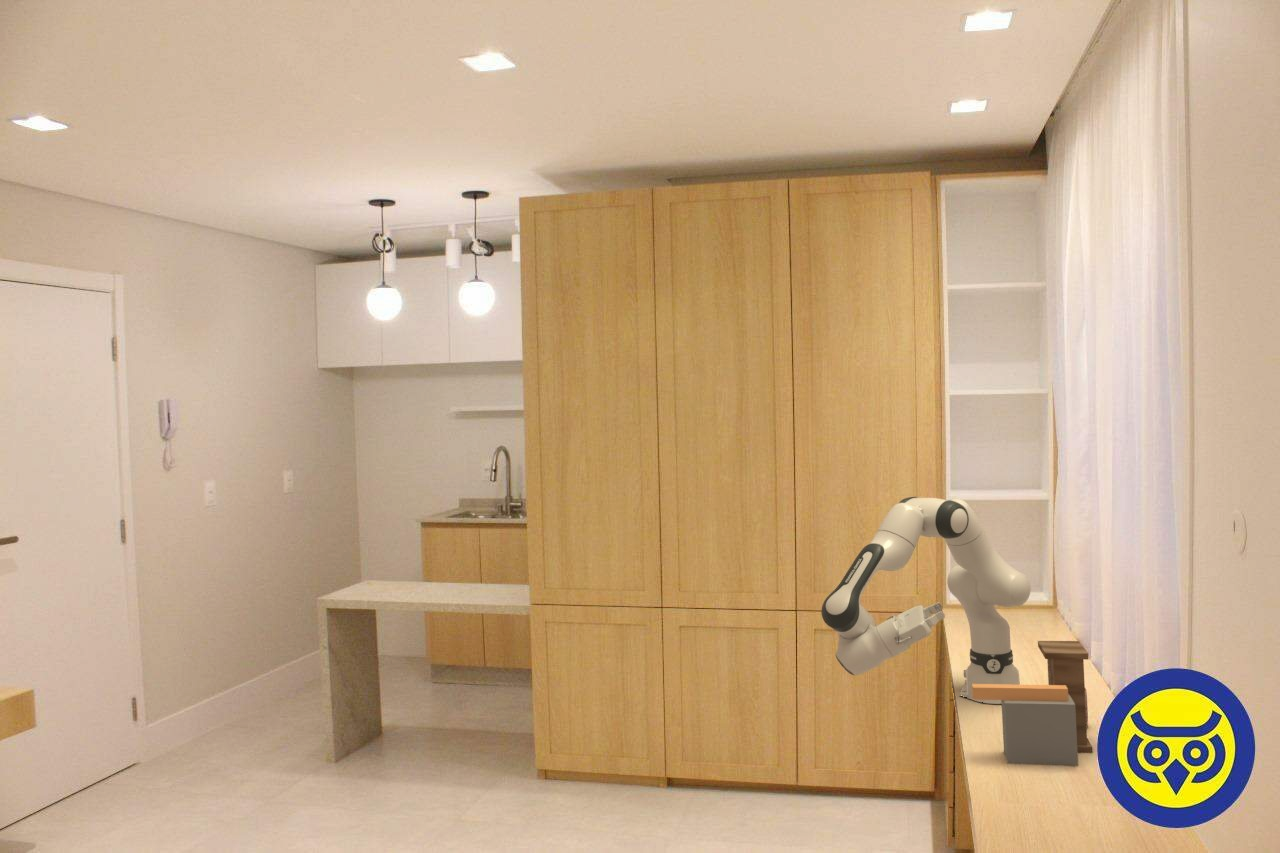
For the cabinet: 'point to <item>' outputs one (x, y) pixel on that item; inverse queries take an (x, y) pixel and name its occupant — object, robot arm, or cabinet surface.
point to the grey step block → (1040, 732)
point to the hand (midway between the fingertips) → (942, 609)
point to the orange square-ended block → (1020, 692)
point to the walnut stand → (1069, 680)
